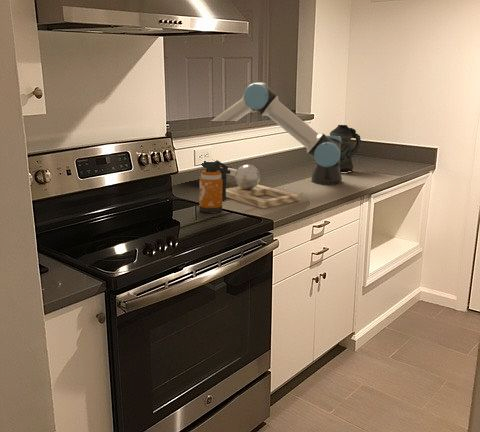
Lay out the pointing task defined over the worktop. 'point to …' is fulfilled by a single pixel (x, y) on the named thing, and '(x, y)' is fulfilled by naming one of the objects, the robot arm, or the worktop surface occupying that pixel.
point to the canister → (212, 187)
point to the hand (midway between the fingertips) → (236, 173)
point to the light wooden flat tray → (249, 194)
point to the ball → (247, 176)
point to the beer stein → (346, 146)
